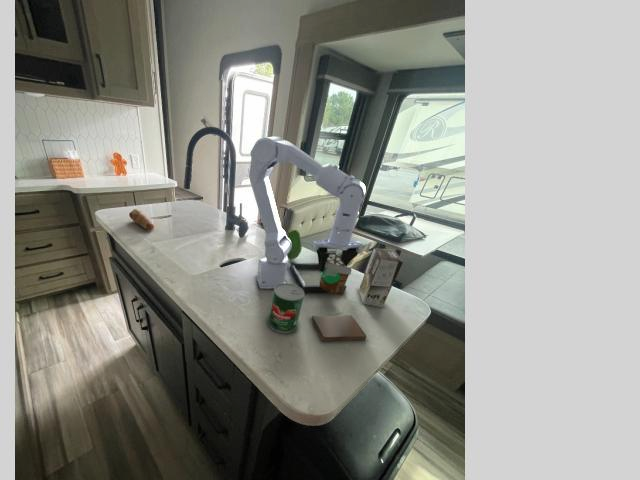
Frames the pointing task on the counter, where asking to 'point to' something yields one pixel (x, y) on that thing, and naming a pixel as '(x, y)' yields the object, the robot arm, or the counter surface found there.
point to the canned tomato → (286, 307)
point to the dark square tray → (300, 282)
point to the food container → (334, 274)
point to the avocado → (294, 244)
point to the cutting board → (338, 328)
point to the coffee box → (379, 276)
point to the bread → (141, 219)
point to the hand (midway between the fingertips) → (330, 270)
